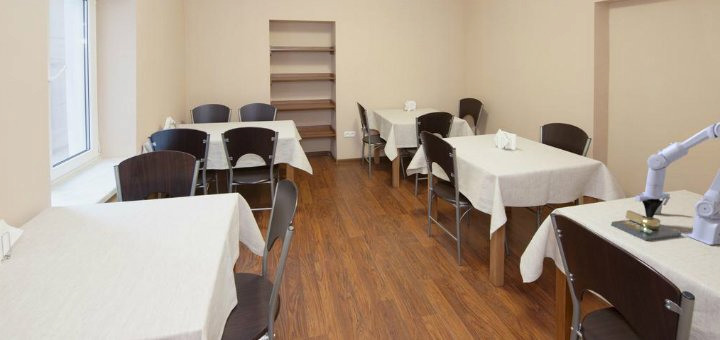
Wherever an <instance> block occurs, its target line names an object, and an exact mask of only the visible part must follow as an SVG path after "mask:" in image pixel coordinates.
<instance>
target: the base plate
mask: <svg viewBox="0 0 720 340" xmlns="http://www.w3.org/2000/svg"><path fill="white" fill-rule="evenodd" d="M610 225H611V226H612V227H614V228H617V229H619V230H621V231H623V232H625V233H628V234H629V235H631V236H634V237H637V238H638V239H640V240H643V241H644V242H645V241H646V242H648V241H654V240H656V241H657V240H662V239H669V238H670V239H671V238H678V237H681V235H682V232H681V231H679V230H676V229H673V228H670V227H668V226H665V225H664V224H661V223H660V227H659V229H658V230H650V229H647V228H645V227H641V224H639V223H637V222H635V221H632V220H630V219H624V220H623V219H622V220H618V221H617V220H616V221H615V220H614V221H611V224H610Z"/></svg>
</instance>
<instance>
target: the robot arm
mask: <svg viewBox="0 0 720 340" xmlns="http://www.w3.org/2000/svg"><path fill="white" fill-rule="evenodd" d="M715 138H719V139H720V121H718V122H717V123H714V124H712V125H709V126H707V127H705V128H704V129H702V130H700V131H698V132H697V133H696V134H694V135H692V136H691V137H689V138H688V139H686V140H684V141H682V142H680V141H676V142H671V143H669V145H668V146H667V147H665V148H664V149H660V150H658V151H657V154H656V153H654V154H651V155H650V156H649V157H647V161H646V164H647V166H648V171H647V174H646V175H647V176H646V181H645V191H643V192H642V193H641V194H637V195H635V201H637V202H639V203H640V202H642V204H643V207H644V212H645V216H646V217H653V218H654V217H655V215H656V214H655V212H656V210H657V209H658V207H659V206H660V205H661V204H662V202H663V201H661V200H662V199H663V198H666V199H669V197H671V195H670V193H667V192H663V191H664V190H663V189H664V185H665V178H666V172H667V168H668V167H669V165H670V164H672V163H674V162H676V161H678V160H679V159H682V158H683V157H685V156H687V155H688V153H689V150H690V149H691V148H694V147H696V146H697V145H700V144H702V143H703V142H705V141H708V140H709V139H715ZM702 196H703V197H702V198H701V199H700V200H698V201H697V202H696V203H695V205H694V211H695V215H694V220H693V227H692V232H691V233H686V234H685V236H686V237H688V238H691V239H693V240H696V241H698V242H701V243H703V244H707V245H709V246H713V245H714V246H715V245H720V168H719V169H718V171H717V173H716V176H715V177H714V179H713V181H712V183H711V185H710V186H709V189H708V190H707V191H706V192H705V193H704V195H702ZM669 200H670V199H669Z"/></svg>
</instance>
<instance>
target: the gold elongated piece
mask: <svg viewBox="0 0 720 340" xmlns="http://www.w3.org/2000/svg"><path fill="white" fill-rule="evenodd" d="M625 213H626V214H625V219H626V220H632V221H635V222H637V223H639V224H641V227H645V228H647V229H650V230H658V229H659V227H660V224H661V220H660V219H659V218H656V217H654V216H653V217H647V216H646V215H643V214H640V213H637V212H636V211H633V210H626V212H625Z"/></svg>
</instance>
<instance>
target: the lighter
mask: <svg viewBox="0 0 720 340" xmlns="http://www.w3.org/2000/svg"><path fill="white" fill-rule="evenodd" d="M670 199H671V196H669V199H666V198H663V199H660V200H661V201H663V202H662V204H661V205H660V206H659V207H658V209H657V210H656V212H655V214H654V215H661V214H662V209H663V206H666V205H667V203H669V200H670Z"/></svg>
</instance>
